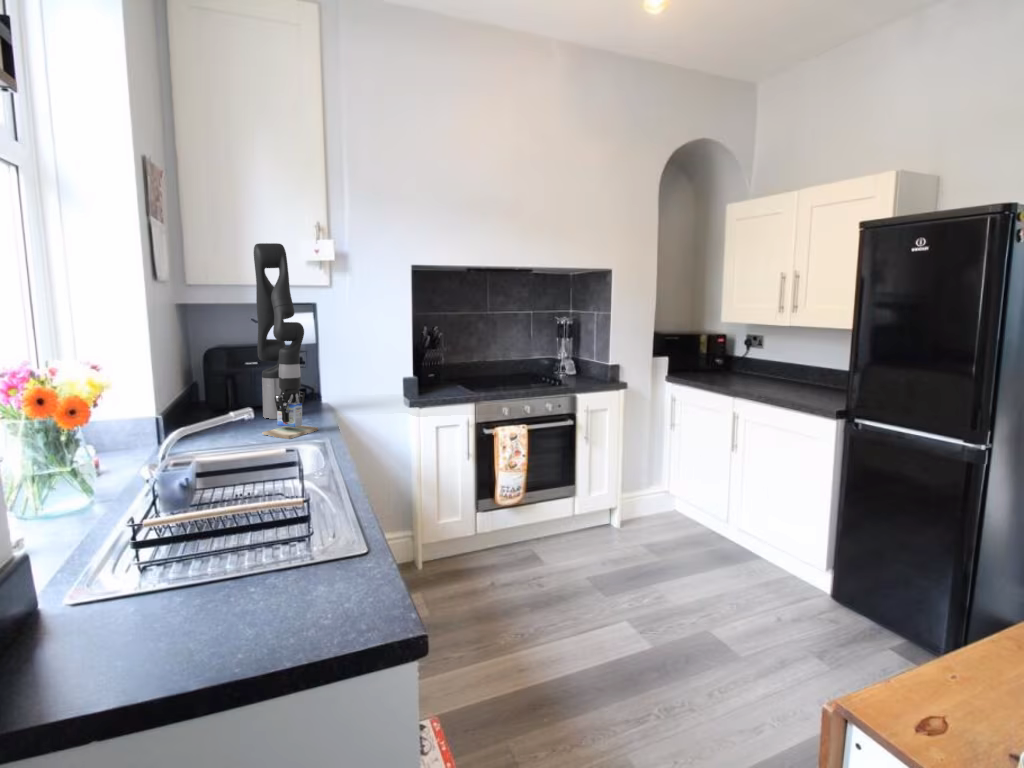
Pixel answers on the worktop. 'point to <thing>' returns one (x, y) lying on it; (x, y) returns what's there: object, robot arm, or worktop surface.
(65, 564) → the worktop surface
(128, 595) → the worktop surface
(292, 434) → the board
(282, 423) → the medicine box
